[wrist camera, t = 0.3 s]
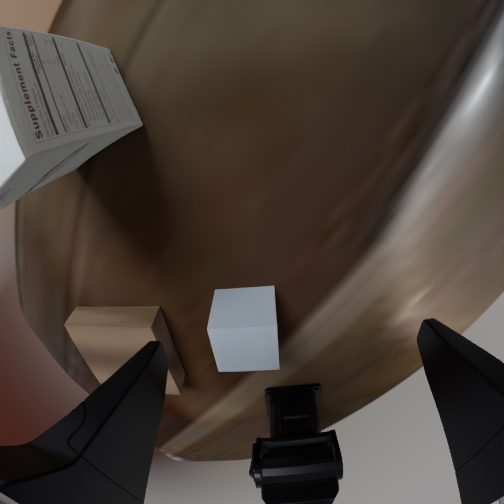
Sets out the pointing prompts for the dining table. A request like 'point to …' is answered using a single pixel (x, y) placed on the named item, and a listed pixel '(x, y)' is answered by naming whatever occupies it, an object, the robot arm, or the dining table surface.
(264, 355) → the slate block
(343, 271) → the dining table surface
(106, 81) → the supplement box
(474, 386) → the robot arm
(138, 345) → the tan flat block
